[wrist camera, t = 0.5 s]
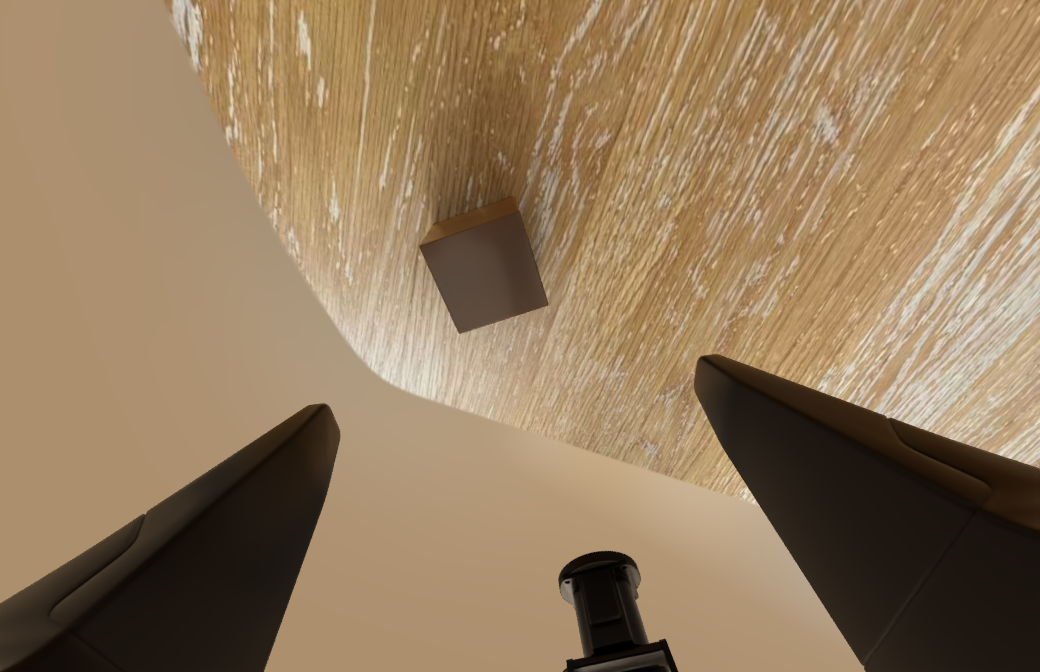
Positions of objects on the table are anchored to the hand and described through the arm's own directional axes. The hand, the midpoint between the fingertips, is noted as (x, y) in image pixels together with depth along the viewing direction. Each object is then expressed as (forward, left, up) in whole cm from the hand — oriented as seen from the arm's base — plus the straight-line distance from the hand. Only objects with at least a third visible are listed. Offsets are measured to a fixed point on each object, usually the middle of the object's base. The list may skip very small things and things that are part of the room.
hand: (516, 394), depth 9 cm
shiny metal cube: (0, +1, -13) cm, 13 cm away
